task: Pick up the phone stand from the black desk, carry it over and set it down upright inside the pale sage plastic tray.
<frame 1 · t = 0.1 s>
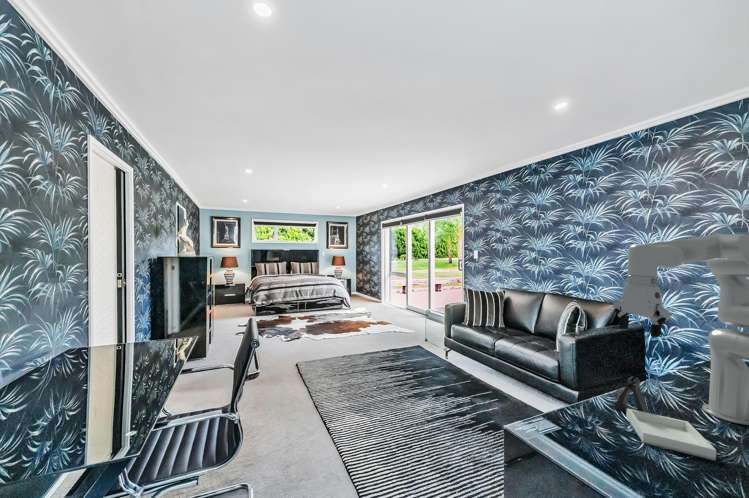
hand: (638, 332, 103), 31 cm above the table, tool pointing down, fingers open, 9 cm apart
phone stand: (631, 411, 113), on the table
tray: (665, 436, 98), on the table
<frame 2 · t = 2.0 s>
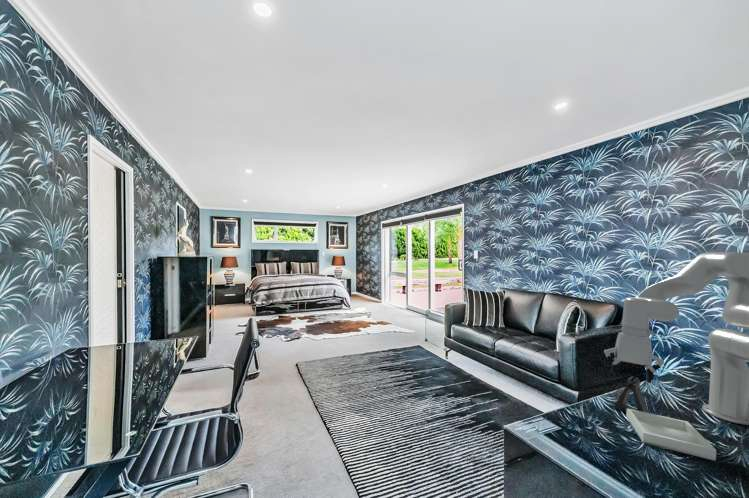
hand: (631, 378, 114), 12 cm above the table, tool pointing down, fingers open, 9 cm apart
nothing on the table moved.
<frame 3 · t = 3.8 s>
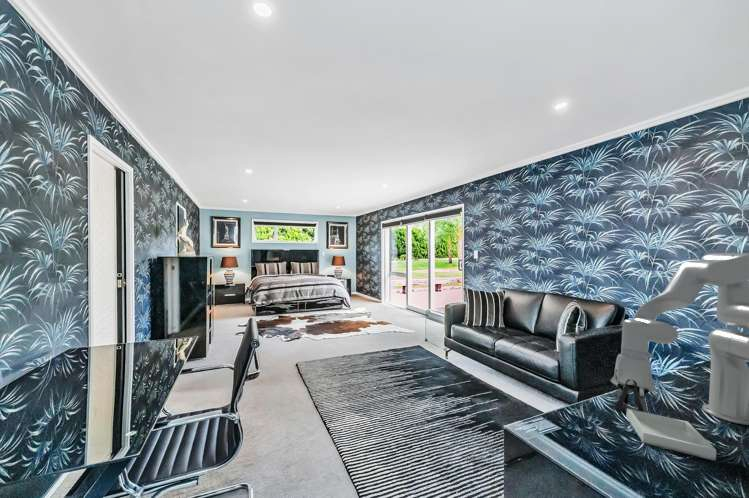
hand: (631, 403, 114), 3 cm above the table, tool pointing down, fingers open, 2 cm apart
phone stand: (631, 411, 113), on the table, touching gripper
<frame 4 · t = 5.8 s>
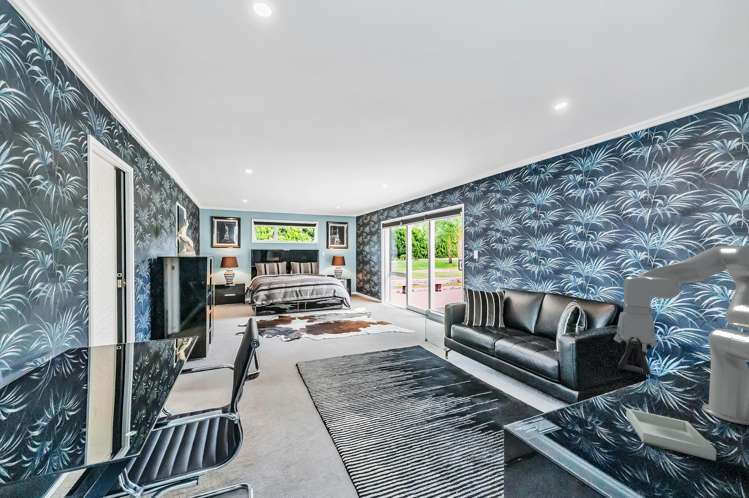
hand: (634, 360, 114), 19 cm above the table, tool pointing down, fingers closed on phone stand, 2 cm apart
phone stand: (634, 369, 113), point 15 cm above the table, touching gripper
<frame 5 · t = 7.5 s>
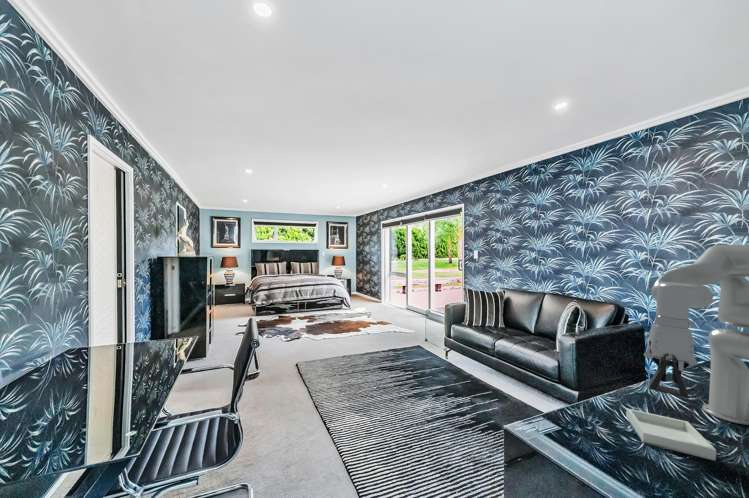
hand: (668, 380, 98), 18 cm above the table, tool pointing down, fingers closed on phone stand, 2 cm apart
phone stand: (667, 391, 98), point 14 cm above the table, touching gripper
when the fingers open (4 cm above the table, at t = 10.3 s): phone stand stays where it is, resting on tray.
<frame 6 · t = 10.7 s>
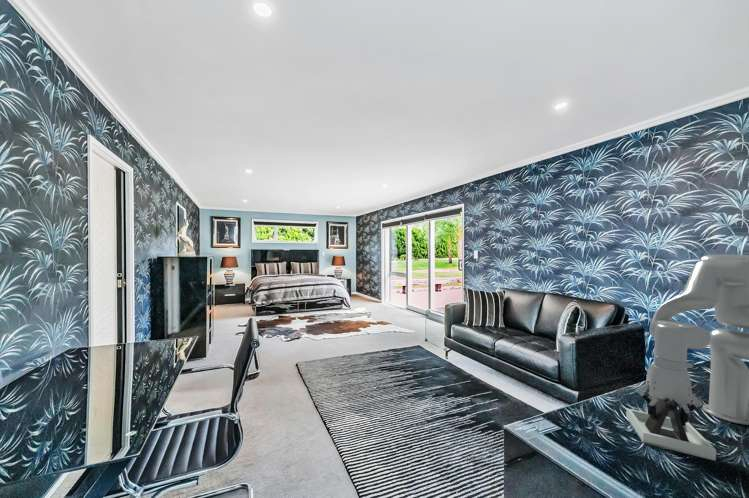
hand: (666, 420, 98), 5 cm above the table, tool pointing down, fingers open, 6 cm apart
phone stand: (665, 434, 98), resting on tray
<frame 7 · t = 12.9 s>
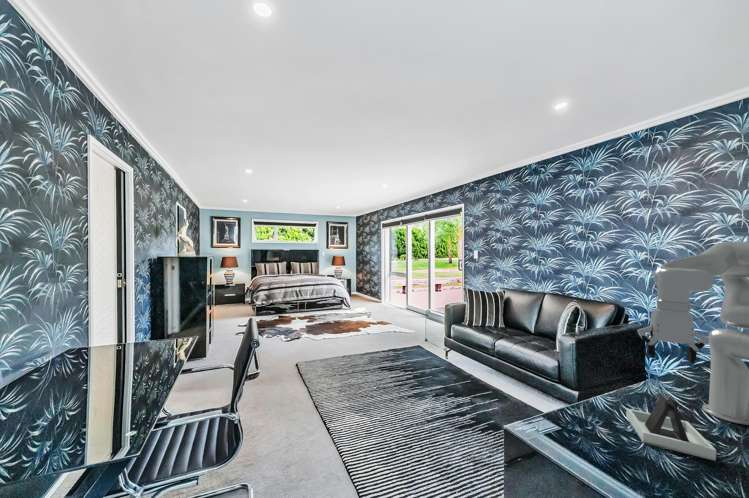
hand: (670, 359, 101), 24 cm above the table, tool pointing down, fingers open, 9 cm apart
nothing on the table moved.
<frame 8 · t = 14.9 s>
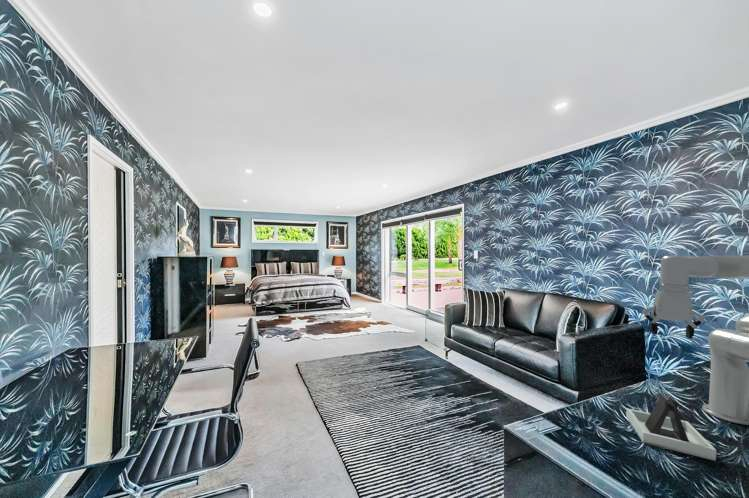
hand: (671, 335, 114), 28 cm above the table, tool pointing down, fingers open, 9 cm apart
nothing on the table moved.
at the end: phone stand inside the target area on the tray (0.2 cm from its centre), point 0.4 cm above the tray's base; phone stand tilted 0°; the gripper is holding nothing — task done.
